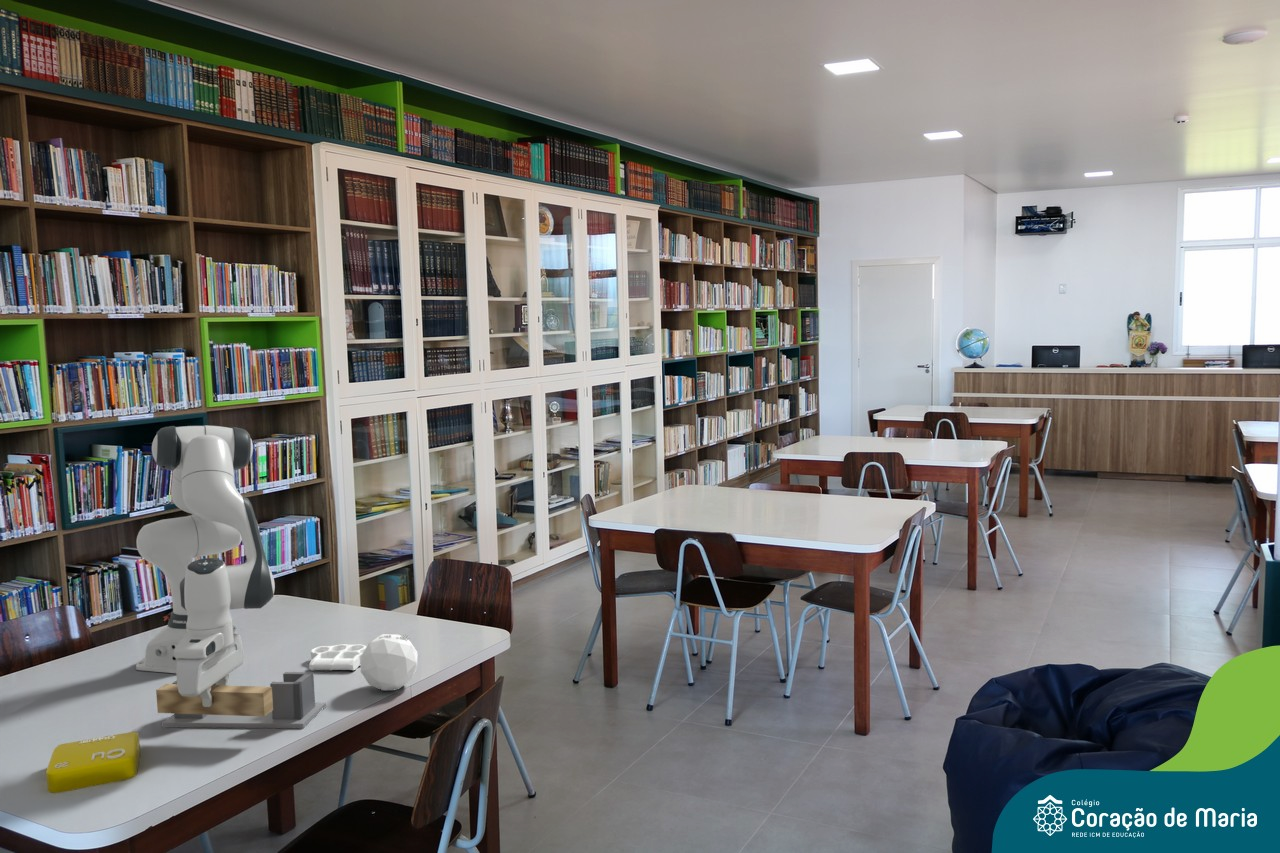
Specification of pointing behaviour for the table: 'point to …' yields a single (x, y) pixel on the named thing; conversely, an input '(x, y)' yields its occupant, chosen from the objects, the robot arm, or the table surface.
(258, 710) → the oak slat
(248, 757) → the table surface
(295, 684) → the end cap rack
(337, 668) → the knuckle duster
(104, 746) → the element tile
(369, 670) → the geodesic sphere
